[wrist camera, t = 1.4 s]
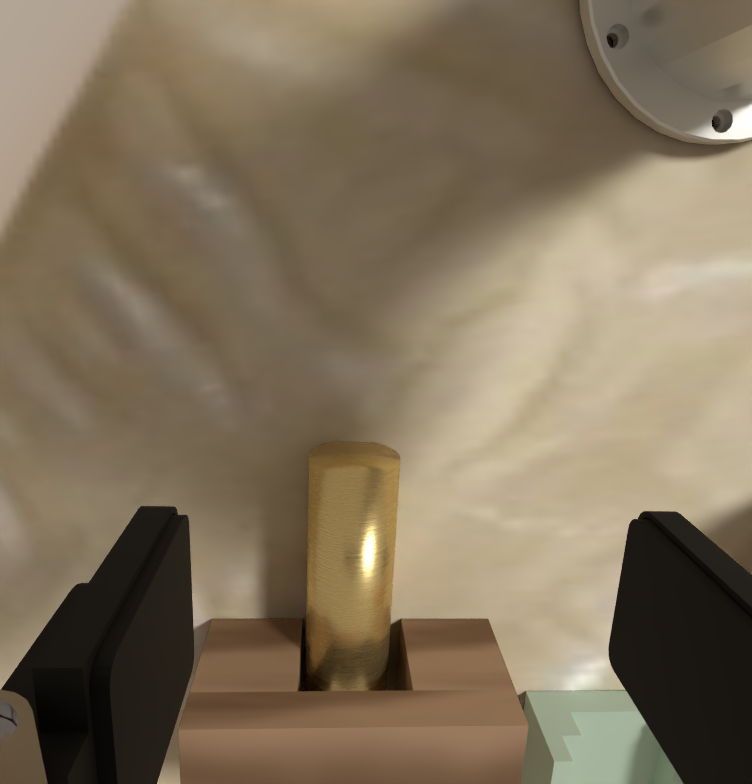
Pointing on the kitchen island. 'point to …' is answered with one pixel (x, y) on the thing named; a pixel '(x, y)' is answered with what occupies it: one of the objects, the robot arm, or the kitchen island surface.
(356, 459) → the axle
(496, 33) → the kitchen island surface
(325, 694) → the beam
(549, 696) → the v block
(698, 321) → the kitchen island surface
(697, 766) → the robot arm
